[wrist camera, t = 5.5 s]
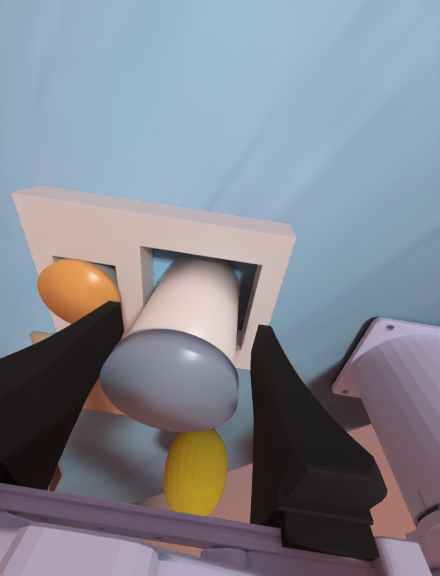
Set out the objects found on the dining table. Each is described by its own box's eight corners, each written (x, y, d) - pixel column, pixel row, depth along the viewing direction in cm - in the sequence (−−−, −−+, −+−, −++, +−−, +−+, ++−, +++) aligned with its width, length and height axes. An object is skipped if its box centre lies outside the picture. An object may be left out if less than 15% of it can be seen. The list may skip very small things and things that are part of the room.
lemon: (240, 422, 25) (238, 531, 18) (208, 441, 27) (196, 541, 21) (196, 399, 23) (175, 508, 17) (167, 421, 26) (139, 522, 19)
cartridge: (249, 255, 15) (249, 359, 8) (235, 323, 18) (227, 440, 11) (161, 242, 15) (88, 333, 8) (162, 311, 18) (109, 420, 11)
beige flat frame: (290, 223, 13) (296, 237, 12) (253, 349, 19) (254, 370, 17) (40, 184, 14) (11, 192, 12) (75, 320, 19) (59, 339, 17)
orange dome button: (134, 247, 15) (112, 270, 12) (138, 304, 17) (120, 333, 15) (63, 235, 15) (26, 257, 12) (77, 294, 17) (49, 322, 15)
